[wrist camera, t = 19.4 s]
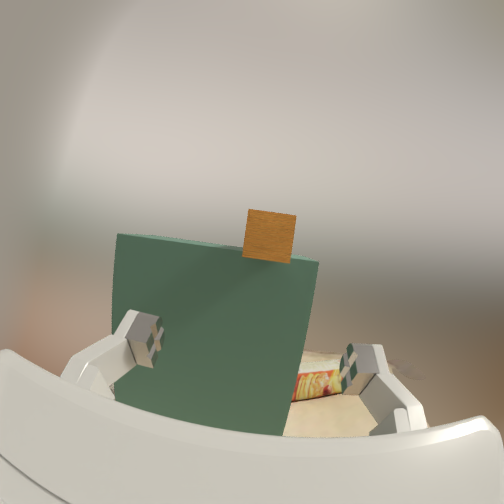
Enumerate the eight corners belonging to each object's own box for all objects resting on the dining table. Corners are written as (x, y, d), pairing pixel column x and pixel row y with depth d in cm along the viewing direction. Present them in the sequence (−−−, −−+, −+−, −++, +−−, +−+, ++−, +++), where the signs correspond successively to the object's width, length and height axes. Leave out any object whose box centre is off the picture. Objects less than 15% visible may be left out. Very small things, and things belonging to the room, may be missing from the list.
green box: (272, 467, 26) (318, 261, 25) (119, 434, 27) (117, 233, 26) (271, 424, 36) (303, 256, 35) (145, 400, 37) (153, 235, 36)
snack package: (351, 377, 55) (358, 351, 55) (369, 390, 49) (378, 362, 48) (265, 389, 48) (271, 358, 47) (280, 407, 42) (287, 375, 41)
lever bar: (289, 263, 17) (296, 215, 17) (242, 256, 17) (248, 208, 17) (276, 251, 39) (278, 230, 39) (254, 248, 39) (257, 227, 39)
